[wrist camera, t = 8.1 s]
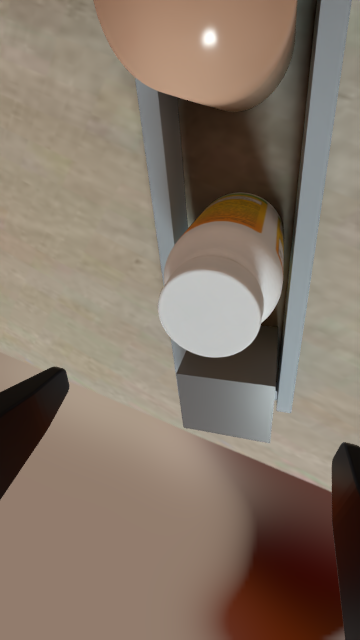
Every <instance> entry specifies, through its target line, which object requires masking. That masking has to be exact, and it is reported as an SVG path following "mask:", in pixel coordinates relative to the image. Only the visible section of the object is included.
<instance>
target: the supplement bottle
mask: <svg viewBox="0 0 360 640" xmlns="http://www.w3.org/2000/svg"><path fill="white" fill-rule="evenodd" d="M283 256H284V231H283V225H282V221H281V219H280V216H279V215H278V213H277V211H276V210H275V208H274V207H273V206H272V205H271V204H270V203H269V202H267V201H266V200H265V199H263V198H261V197H259V196H257V195H254V194H250V193H243V192H238V193H231V194H227V195H224V196H222V197H220V198H218V199H217V200H215V201H214V202H212V203H211V204H210V205H209V206H208V207H207V208H206V209H205V210H204V211H203V212H202V213H201V214H200V216H199V217H198V218H197V219H196V220H195V221H194V223H193V224H192V225H191V226H190V227H189V228H188V229H187V230H186V231H185V233H184V234H183V235H182V236H181V237H180V239H179V240H178V241H177V242H176V244H175V245H174V247H173V248H172V250H171V252H170V254H169V256H168V258H167V261H166V264H165V269H164V287H163V289H162V291H161V293H160V296H159V300H158V314H159V318H160V321H161V324H162V326H163V328H164V329H165V331H166V333H167V334H168V335H169V336H170V337H171V339H172V340H173V341H174V342H176V343H177V344H178V345H179V346H181V347H182V348H184V349H186V350H188V351H190V352H192V353H194V354H197V355H201V356H205V357H226V356H231V355H234V354H236V353H238V352H240V351H242V350H244V349H245V348H246V347H248V346H249V345H250V344H251V343H252V342H253V340H254V339H255V337H256V336H257V334H258V332H259V329H260V326H261V323H262V322H263V321H264V320H265V319H266V318H267V317H268V316H269V315H270V314H271V313H272V311H273V310H274V308H275V306H276V305H277V303H278V300H279V298H280V295H281V291H282V285H283V261H284V260H283Z"/></svg>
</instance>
